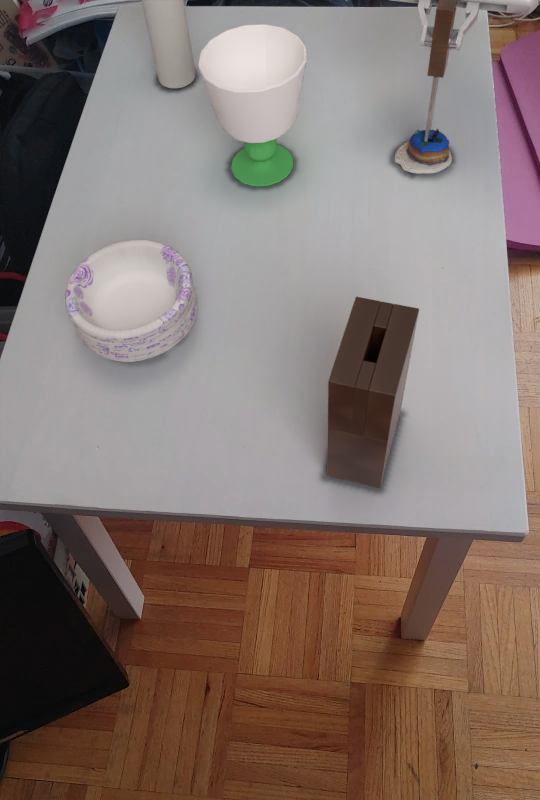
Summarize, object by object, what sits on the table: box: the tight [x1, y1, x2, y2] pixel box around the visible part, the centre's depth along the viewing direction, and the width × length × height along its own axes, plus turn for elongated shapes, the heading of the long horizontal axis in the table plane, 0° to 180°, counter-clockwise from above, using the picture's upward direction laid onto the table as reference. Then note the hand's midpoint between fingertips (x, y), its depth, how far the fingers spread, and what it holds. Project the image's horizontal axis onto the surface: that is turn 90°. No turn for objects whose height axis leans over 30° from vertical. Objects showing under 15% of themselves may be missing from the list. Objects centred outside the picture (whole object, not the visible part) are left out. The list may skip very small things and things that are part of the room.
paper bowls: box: [64, 239, 199, 363], centre depth 85 cm, size 15×15×8 cm
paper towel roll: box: [140, 0, 197, 89], centre depth 102 cm, size 7×6×21 cm
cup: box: [198, 23, 308, 187], centre depth 94 cm, size 14×14×16 cm
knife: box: [424, 0, 457, 142], centre depth 88 cm, size 2×3×17 cm, turn 163°
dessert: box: [393, 128, 453, 175], centre depth 98 cm, size 8×7×6 cm
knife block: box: [326, 296, 420, 489], centre depth 71 cm, size 6×10×18 cm, turn 163°
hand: (439, 47), depth 85 cm, fingers closed on knife, 2 cm apart
